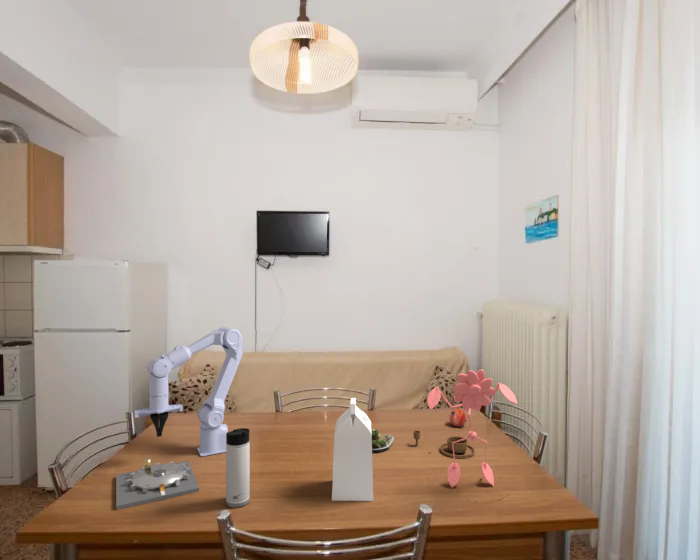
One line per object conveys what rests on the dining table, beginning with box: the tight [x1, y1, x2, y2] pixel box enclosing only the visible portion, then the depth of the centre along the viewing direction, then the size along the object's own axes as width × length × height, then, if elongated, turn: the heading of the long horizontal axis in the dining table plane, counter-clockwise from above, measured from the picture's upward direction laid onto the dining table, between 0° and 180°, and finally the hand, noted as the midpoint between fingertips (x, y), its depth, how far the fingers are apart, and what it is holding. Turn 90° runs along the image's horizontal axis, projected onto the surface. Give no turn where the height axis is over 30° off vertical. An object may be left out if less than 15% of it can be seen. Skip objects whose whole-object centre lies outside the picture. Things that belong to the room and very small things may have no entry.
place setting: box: [413, 430, 476, 459], centre depth 156 cm, size 18×20×6 cm
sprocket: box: [127, 457, 192, 492], centre depth 130 cm, size 18×18×4 cm
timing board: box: [115, 460, 200, 511], centre depth 129 cm, size 21×21×1 cm
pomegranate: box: [448, 408, 468, 428], centre depth 180 cm, size 7×7×10 cm
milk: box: [331, 397, 374, 502], centre depth 125 cm, size 12×12×26 cm
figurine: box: [426, 369, 518, 503], centre depth 125 cm, size 15×26×35 cm, turn 92°
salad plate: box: [371, 428, 395, 454], centre depth 162 cm, size 19×18×5 cm
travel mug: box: [225, 427, 251, 509], centre depth 118 cm, size 6×7×20 cm
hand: (159, 435), depth 143 cm, fingers closed
